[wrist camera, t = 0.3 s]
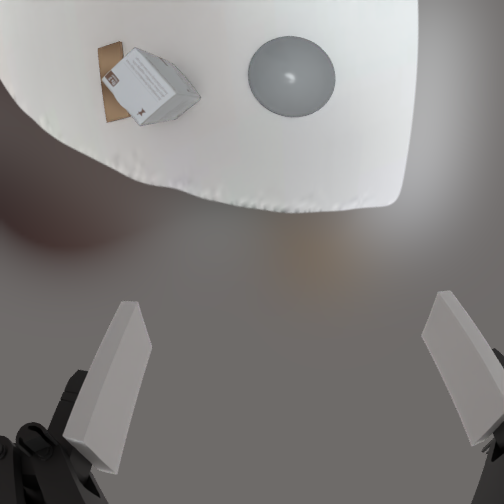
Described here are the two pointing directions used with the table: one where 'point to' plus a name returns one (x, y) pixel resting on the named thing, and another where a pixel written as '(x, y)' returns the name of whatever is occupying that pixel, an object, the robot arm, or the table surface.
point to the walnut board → (106, 62)
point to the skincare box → (150, 88)
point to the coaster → (291, 76)
